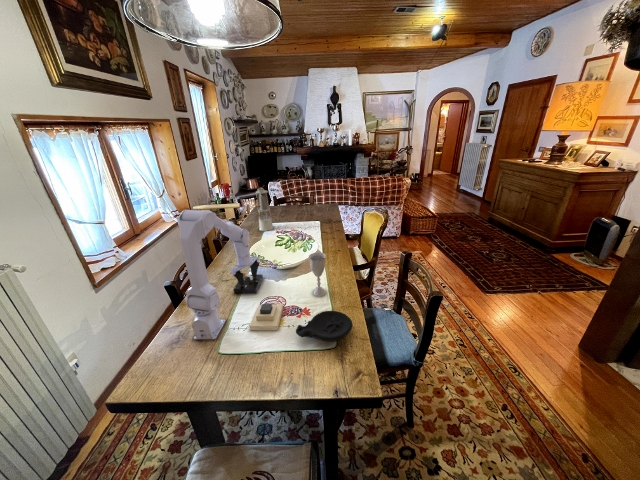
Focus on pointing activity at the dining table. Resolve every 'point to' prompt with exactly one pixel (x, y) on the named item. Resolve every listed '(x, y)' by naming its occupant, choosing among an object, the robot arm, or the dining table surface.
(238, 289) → the browning panel
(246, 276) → the dial
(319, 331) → the oil lamp
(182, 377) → the dining table surface
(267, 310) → the switch
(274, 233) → the dining table surface
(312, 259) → the chalice
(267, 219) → the lamp
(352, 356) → the dining table surface
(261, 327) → the stepped cream base
